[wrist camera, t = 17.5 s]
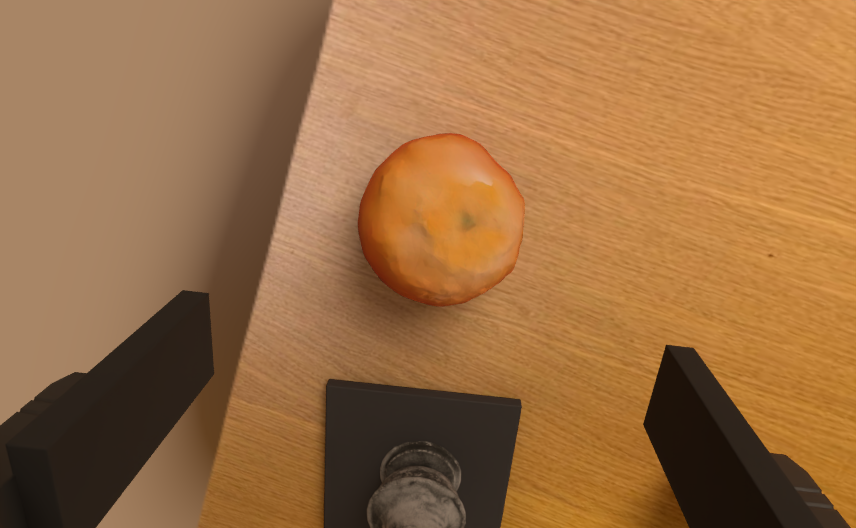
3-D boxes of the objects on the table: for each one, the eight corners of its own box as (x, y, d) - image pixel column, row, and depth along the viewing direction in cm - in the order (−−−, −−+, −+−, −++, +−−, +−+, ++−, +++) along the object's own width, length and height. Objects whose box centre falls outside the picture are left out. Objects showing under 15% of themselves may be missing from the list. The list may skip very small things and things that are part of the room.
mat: (326, 522, 39) (323, 531, 39) (329, 378, 35) (325, 385, 34) (495, 541, 39) (496, 551, 38) (520, 398, 34) (522, 406, 34)
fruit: (304, 202, 29) (342, 196, 22) (419, 122, 31) (489, 92, 24) (390, 321, 31) (449, 352, 24) (491, 239, 33) (575, 244, 26)
